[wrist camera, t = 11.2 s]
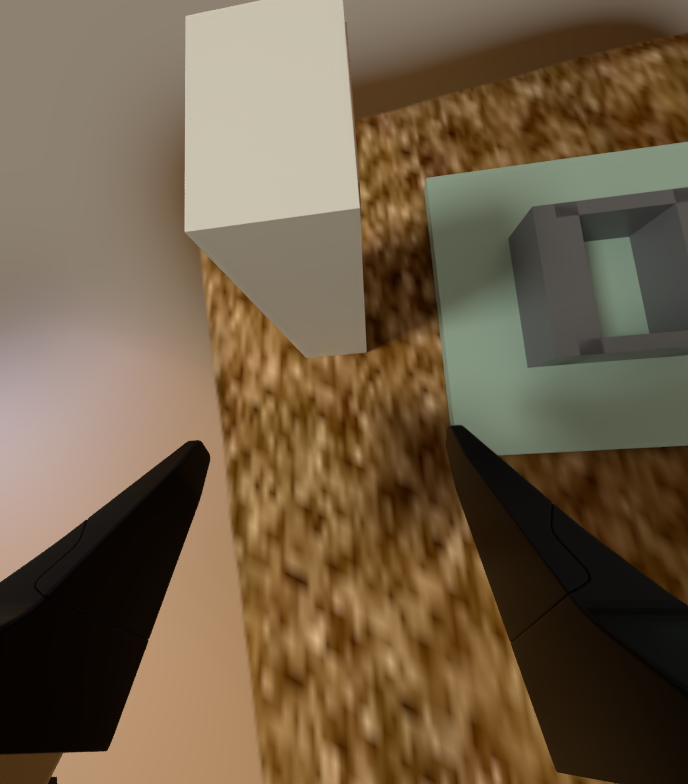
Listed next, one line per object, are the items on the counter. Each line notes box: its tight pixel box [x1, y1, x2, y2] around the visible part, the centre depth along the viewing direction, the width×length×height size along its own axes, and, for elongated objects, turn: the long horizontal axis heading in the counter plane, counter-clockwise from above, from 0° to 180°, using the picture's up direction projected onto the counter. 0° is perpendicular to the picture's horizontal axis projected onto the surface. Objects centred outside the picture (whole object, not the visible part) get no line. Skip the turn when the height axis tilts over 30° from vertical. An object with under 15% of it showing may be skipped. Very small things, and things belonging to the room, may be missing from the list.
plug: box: [185, 0, 367, 358], centre depth 12 cm, size 6×4×12 cm
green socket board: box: [424, 142, 688, 455], centre depth 15 cm, size 18×18×3 cm
